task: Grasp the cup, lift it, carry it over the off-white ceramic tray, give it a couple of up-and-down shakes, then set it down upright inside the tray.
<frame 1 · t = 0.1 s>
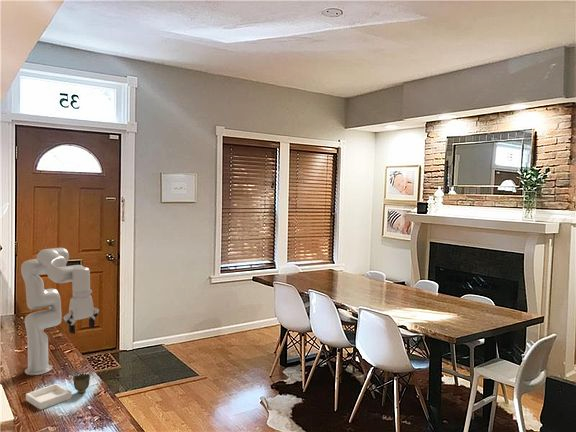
hand: (82, 330, 214), 31 cm above the table, tool pointing down, fingers open, 9 cm apart
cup: (81, 392, 219), on the table
tray: (48, 399, 212), on the table
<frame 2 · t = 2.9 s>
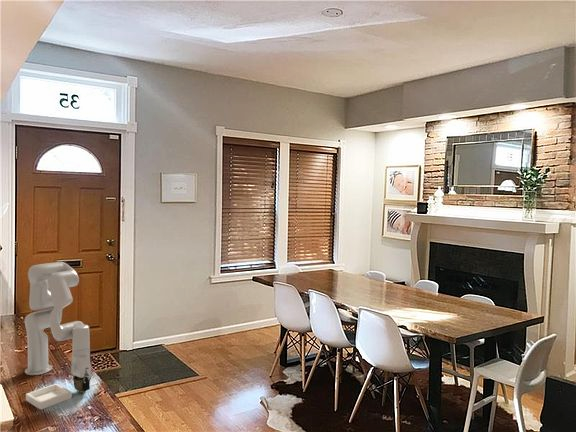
hand: (81, 387, 219), 2 cm above the table, tool pointing down, fingers closed on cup, 7 cm apart
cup: (81, 392, 219), on the table, touching gripper
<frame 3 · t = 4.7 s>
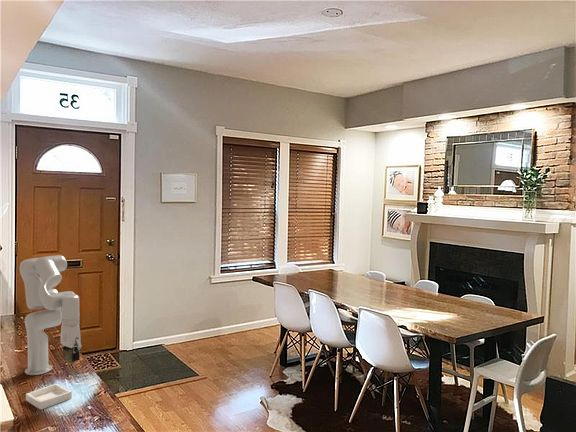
hand: (71, 358, 216), 17 cm above the table, tool pointing down, fingers closed on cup, 7 cm apart
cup: (71, 363, 216), point 15 cm above the table, touching gripper
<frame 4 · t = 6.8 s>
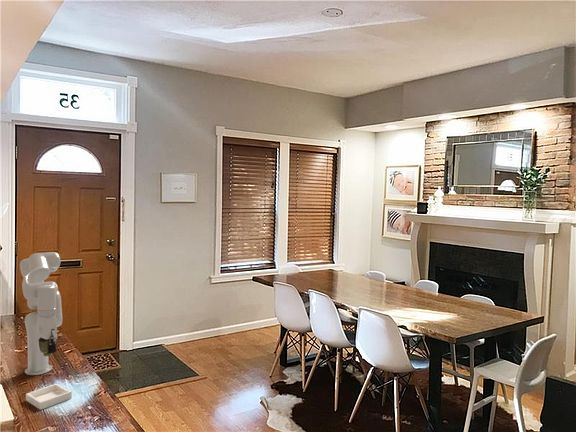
hand: (47, 350, 210), 23 cm above the table, tool pointing down, fingers closed on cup, 7 cm apart
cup: (47, 355, 211), point 20 cm above the table, touching gripper
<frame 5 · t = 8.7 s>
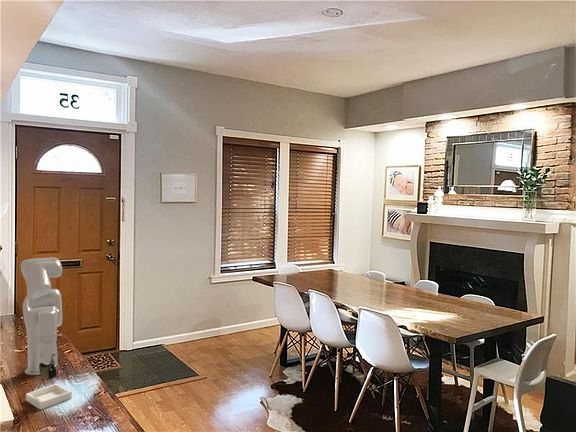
hand: (48, 375, 211), 11 cm above the table, tool pointing down, fingers closed on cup, 7 cm apart
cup: (48, 380, 211), point 9 cm above the table, touching gripper
when the fingers open (5 cm above the table, at t = 10.6 s): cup drops 2 cm, resting on tray.
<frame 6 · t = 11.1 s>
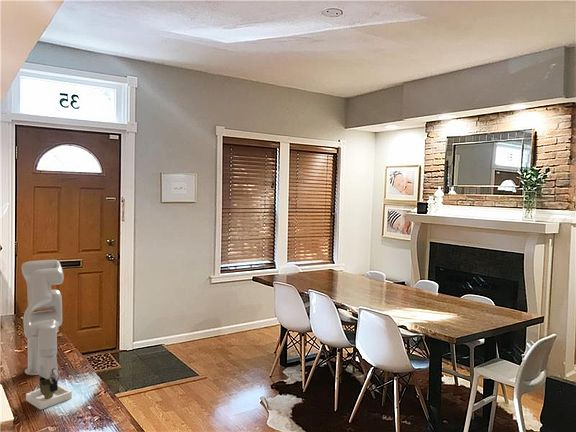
hand: (48, 388, 211), 5 cm above the table, tool pointing down, fingers open, 9 cm apart
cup: (48, 398, 212), resting on tray
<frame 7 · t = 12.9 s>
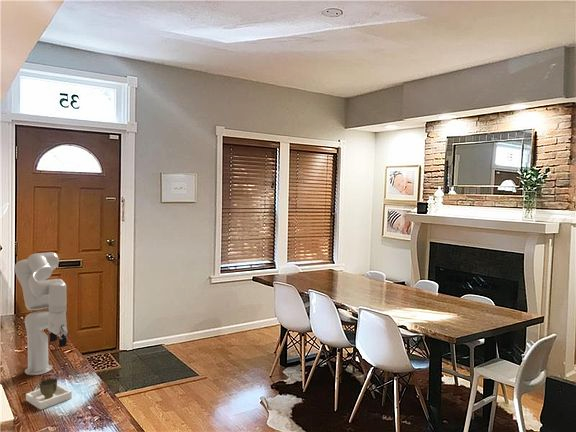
hand: (58, 343, 219), 23 cm above the table, tool pointing down, fingers open, 9 cm apart
nothing on the table moved.
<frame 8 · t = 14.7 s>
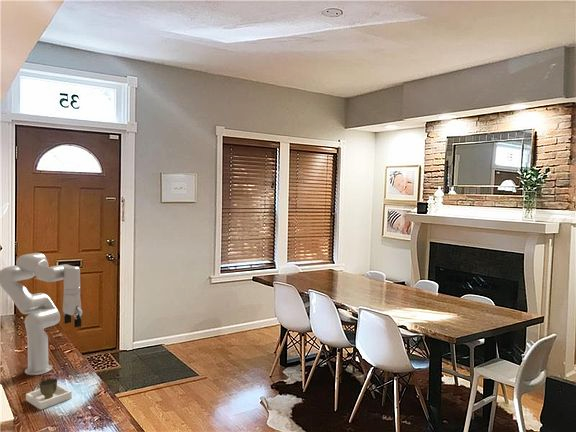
hand: (72, 324, 232), 28 cm above the table, tool pointing down, fingers open, 9 cm apart
nothing on the table moved.
at the end: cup inside the target area on the tray (0.4 cm from its centre), point 0.4 cm above the tray's base; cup tilted 0°; the gripper is holding nothing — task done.
